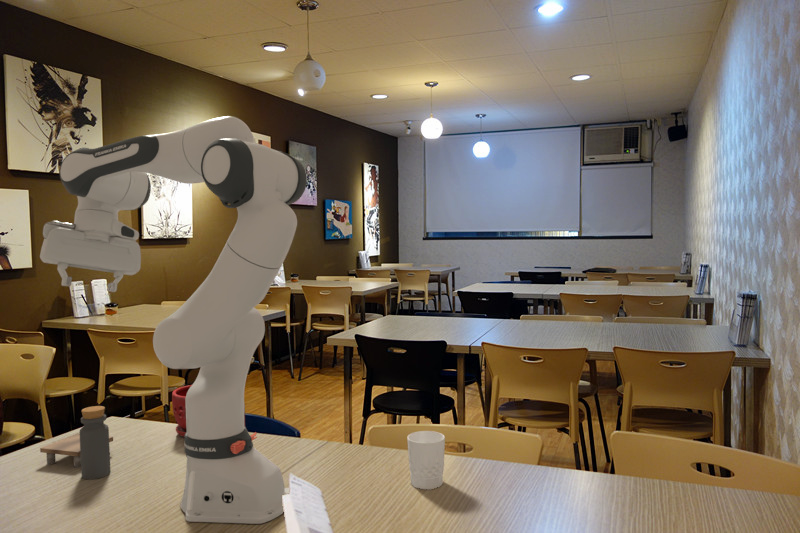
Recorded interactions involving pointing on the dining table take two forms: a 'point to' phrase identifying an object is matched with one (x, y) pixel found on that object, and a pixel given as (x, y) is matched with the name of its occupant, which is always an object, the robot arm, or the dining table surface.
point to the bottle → (94, 443)
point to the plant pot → (179, 412)
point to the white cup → (426, 459)
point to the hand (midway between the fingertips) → (89, 288)
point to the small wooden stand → (65, 449)
